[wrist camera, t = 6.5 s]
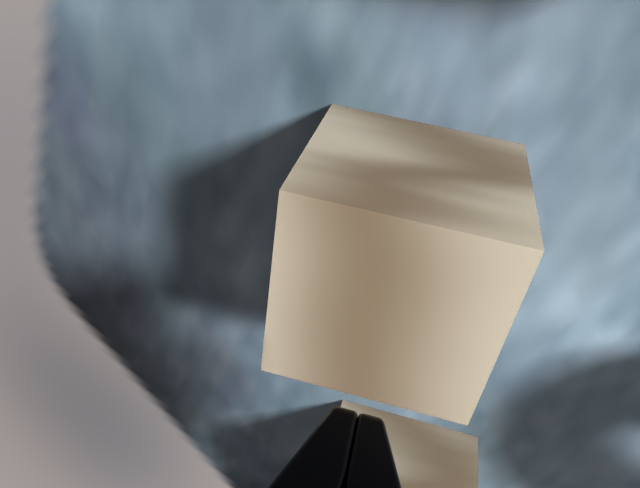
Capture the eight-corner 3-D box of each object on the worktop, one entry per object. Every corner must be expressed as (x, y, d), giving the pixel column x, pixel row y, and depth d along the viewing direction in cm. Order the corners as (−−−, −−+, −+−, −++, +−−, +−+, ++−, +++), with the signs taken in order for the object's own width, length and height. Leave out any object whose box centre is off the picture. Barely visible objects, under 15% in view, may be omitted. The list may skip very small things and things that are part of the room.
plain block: (524, 143, 14) (544, 251, 10) (469, 294, 17) (467, 425, 13) (332, 103, 15) (279, 189, 11) (310, 255, 18) (261, 370, 14)
